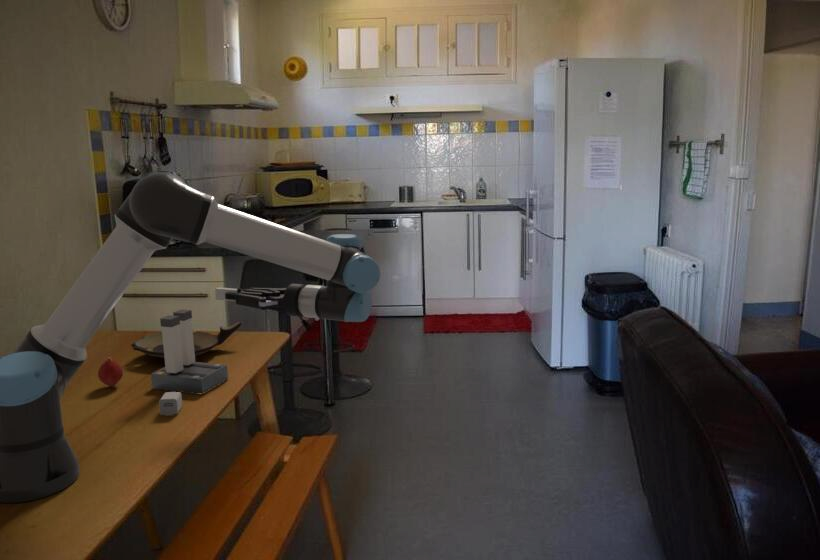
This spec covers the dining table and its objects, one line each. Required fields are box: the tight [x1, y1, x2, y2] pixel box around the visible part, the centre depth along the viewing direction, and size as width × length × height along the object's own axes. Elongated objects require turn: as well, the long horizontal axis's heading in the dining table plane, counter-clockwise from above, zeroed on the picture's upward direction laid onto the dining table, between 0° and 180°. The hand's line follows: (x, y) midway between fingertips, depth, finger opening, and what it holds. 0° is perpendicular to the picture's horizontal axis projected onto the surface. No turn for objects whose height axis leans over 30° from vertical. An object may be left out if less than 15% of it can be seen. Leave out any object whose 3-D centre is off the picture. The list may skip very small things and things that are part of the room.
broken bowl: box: [130, 321, 242, 359], centre depth 196 cm, size 22×30×8 cm
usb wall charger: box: [158, 391, 183, 416], centre depth 157 cm, size 4×7×4 cm, turn 6°
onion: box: [97, 356, 124, 388], centre depth 171 cm, size 6×6×8 cm
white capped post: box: [172, 309, 196, 365], centre depth 175 cm, size 3×3×14 cm
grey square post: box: [159, 315, 183, 373], centre depth 169 cm, size 3×3×14 cm
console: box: [150, 361, 229, 395], centre depth 173 cm, size 11×15×4 cm
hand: (217, 293), depth 162 cm, fingers closed
